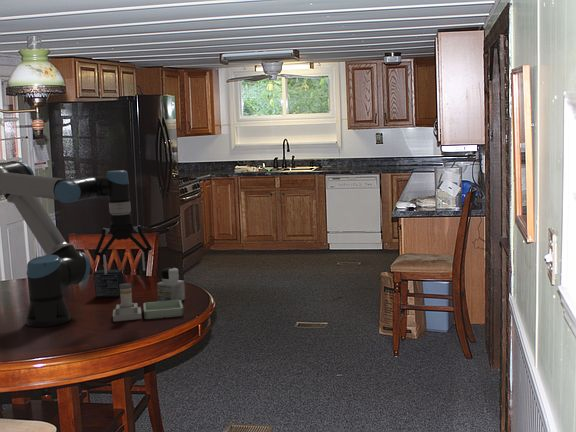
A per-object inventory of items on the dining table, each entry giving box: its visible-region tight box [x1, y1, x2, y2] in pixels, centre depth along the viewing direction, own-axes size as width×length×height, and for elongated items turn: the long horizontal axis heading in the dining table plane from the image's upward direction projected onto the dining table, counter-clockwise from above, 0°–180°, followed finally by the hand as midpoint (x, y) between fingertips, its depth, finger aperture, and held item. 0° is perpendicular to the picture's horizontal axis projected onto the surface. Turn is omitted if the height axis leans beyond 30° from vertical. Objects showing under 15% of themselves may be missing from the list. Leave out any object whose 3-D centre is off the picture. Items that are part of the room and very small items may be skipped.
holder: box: [112, 302, 143, 322], centre depth 282 cm, size 10×10×4 cm
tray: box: [142, 300, 185, 320], centre depth 285 cm, size 14×14×3 cm
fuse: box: [119, 282, 133, 308], centre depth 281 cm, size 4×4×10 cm
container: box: [156, 267, 186, 302], centre depth 303 cm, size 8×8×13 cm
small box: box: [93, 269, 125, 299], centre depth 317 cm, size 11×6×10 cm, turn 84°
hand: (125, 272), depth 280 cm, fingers open, 13 cm apart
